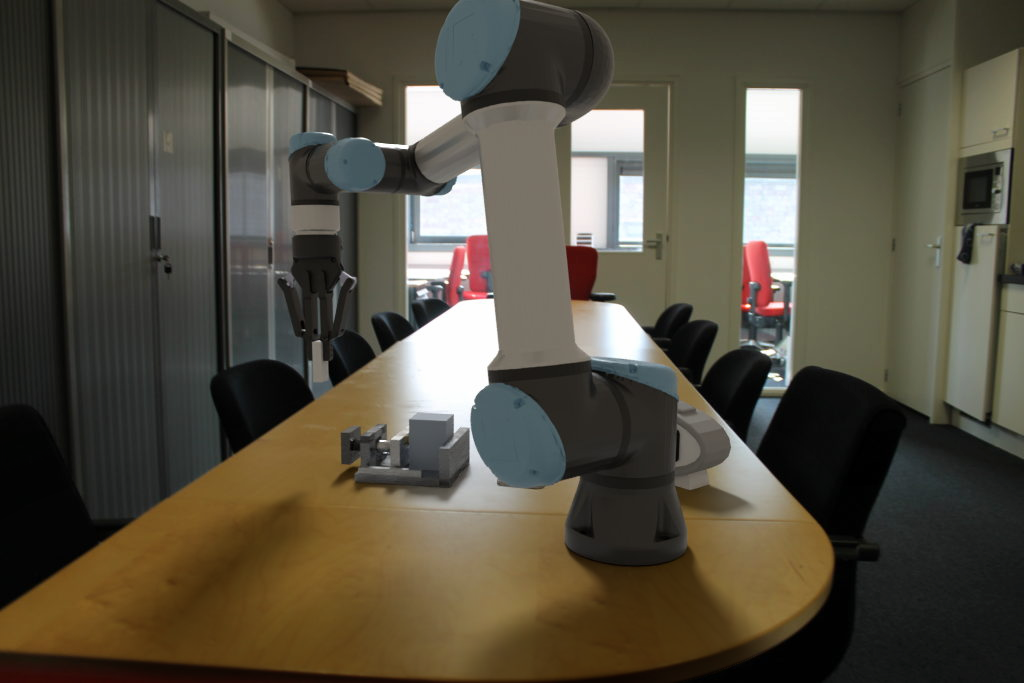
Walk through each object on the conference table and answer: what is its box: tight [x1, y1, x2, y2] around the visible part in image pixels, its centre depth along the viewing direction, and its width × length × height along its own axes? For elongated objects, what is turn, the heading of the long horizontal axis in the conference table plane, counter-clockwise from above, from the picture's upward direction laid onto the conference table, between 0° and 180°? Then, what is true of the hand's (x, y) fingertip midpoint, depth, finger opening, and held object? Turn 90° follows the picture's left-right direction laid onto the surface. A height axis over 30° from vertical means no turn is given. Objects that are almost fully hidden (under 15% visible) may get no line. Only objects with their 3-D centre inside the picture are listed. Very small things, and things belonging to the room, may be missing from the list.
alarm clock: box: [675, 399, 732, 491], centre depth 133 cm, size 23×6×13 cm, turn 40°
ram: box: [340, 425, 409, 468], centre depth 135 cm, size 10×10×5 cm
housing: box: [407, 412, 455, 471], centre depth 133 cm, size 5×7×8 cm
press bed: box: [354, 423, 471, 488], centre depth 134 cm, size 14×15×7 cm
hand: (321, 380), depth 134 cm, fingers closed
